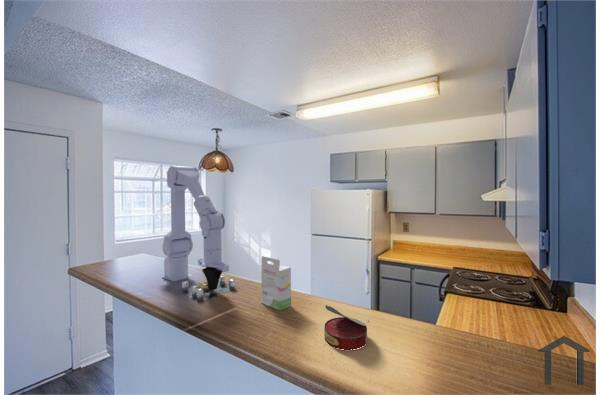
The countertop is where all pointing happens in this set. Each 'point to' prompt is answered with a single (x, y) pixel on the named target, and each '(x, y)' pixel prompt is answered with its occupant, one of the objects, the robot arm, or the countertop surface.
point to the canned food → (345, 332)
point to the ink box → (275, 284)
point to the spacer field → (202, 295)
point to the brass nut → (204, 286)
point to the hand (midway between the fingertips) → (213, 289)
